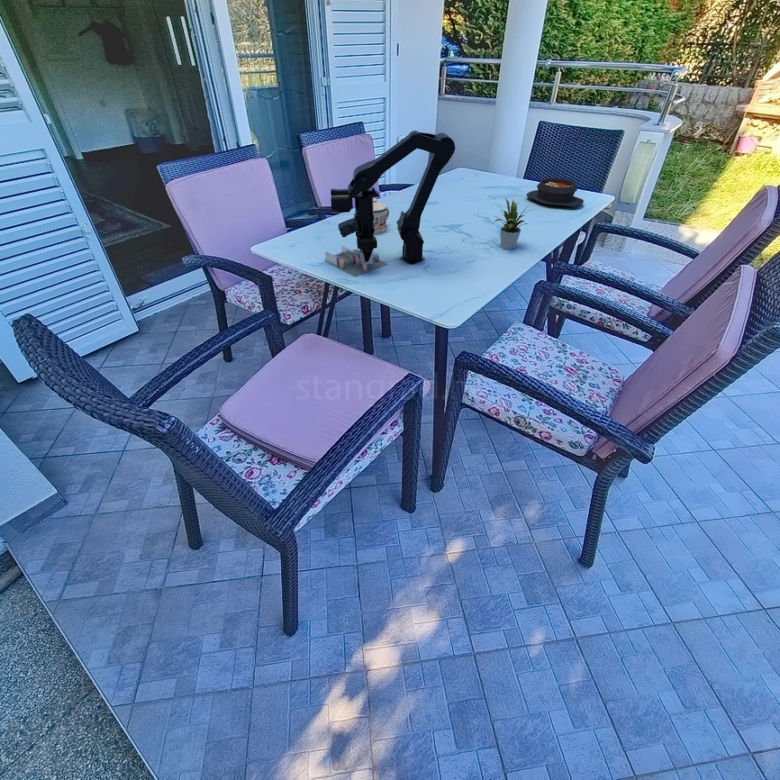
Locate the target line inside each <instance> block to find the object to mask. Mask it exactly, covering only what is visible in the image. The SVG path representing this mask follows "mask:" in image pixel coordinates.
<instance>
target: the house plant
mask: <svg viewBox="0 0 780 780" xmlns="http://www.w3.org/2000/svg"><path fill="white" fill-rule="evenodd" d="M504 200H505V202H506V206H507V207H506V209H507V210H505V209H503V208H502V206H500V204H499V203H495V202H494V204H496V205H497V207H499V208H500V210H499V211H501V212H502V213H503V215H502V216H503V217H504V218H505V220H506V221H505V220H504V219H502V218H499V217H498V216H496V215H494V217H496V219H495V221H493V222H494V223H495V222H498V221H500V222H503V226H501V227H500V248H502V249H505V250H513V248H514V249H515V248H516V246H517V242H518V240H519V237H520V234H521V231H522V229H521V228H520V227H521V226H523V225H529V223H527V222H526V221H525V220H523V219H521V218H522V217H524V216H525V217H526V215H525V213H524V212H525V211H526V209H527V208H528V207H529V205H527V206H526V207H525V208H524V209H523V211H522V212H521V213H520V214H519V211H518V204H519V202H516V201H515V200H514V198H513V199H512V201H511V205H510V201H509V200H508V199H507V198H506V197H504ZM532 210H533V211H534V209H533V208H532V209H529V210H527V211H526V213H528V212H530V211H532ZM507 211H508V212H507ZM523 213H524V214H523ZM518 215H519V216H518ZM524 222H525V223H524ZM522 223H523V224H522ZM520 224H521V225H520Z"/></svg>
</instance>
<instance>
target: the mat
mask: <svg viewBox="0 0 780 780" xmlns="http://www.w3.org/2000/svg"><path fill="white" fill-rule="evenodd" d="M351 250H352V251H354V252H355V256H360V249H358V248H355V249H351ZM338 259H339V260H340V259H343V260H344V270H342V271H343V272H345V273H347V274H348V275H350V276H352V277H354V278H356V277H360V276H362V275H364V274H367V273H370V272H372V271H374V270H378V269H379V268H382V267H385V266H387V265H388V263H386V262H384V261H382V260H381V259H379V262H375V256H373V264H367V272H363V264H361V262H360V266H356V263H354V264H350V259H349V258H347V257H345V256H340V257H338ZM324 261H325V262H327V261H326V260H325V259H324ZM327 263H328V264H330V265H332V266H334V267H336V268H338V269H339V270H341V269H340V261H339V266H338V267H337V266H335V265H333V264H331V263H329V262H327Z"/></svg>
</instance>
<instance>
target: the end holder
mask: <svg viewBox="0 0 780 780" xmlns="http://www.w3.org/2000/svg"><path fill="white" fill-rule="evenodd" d="M352 250H353V249H350V248H348V247H345V245H342V246H341V251H340V252H338V253H335V254H333V253H330V252H328V251H325V252H324V256H325V258H324V261H325V260H326V261H327V263H328V262H329V263H328V264H330V263H331V264H330V265H332V264H333V265H332V266H334V265H335V266H334V267H336V266H337V267H338V266H339V259H338V257H340V256H345V257H347V258H349V255H350V254H353V255H354V256H355V252H354V251H352ZM349 259H350V258H349ZM326 261H325V262H326ZM337 267H336V268H337Z"/></svg>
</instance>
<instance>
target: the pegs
mask: <svg viewBox="0 0 780 780" xmlns="http://www.w3.org/2000/svg"><path fill="white" fill-rule="evenodd" d="M349 258H350V264H354V263H356V266H360V256H354V255H353V254H350V255H349ZM374 258H375V262H379V260H380V254H374ZM339 261H340V269H339V270H341V271H343V270H344V260H343V259H340V260H339ZM363 272H367V262H363ZM367 273H368V272H367Z"/></svg>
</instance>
